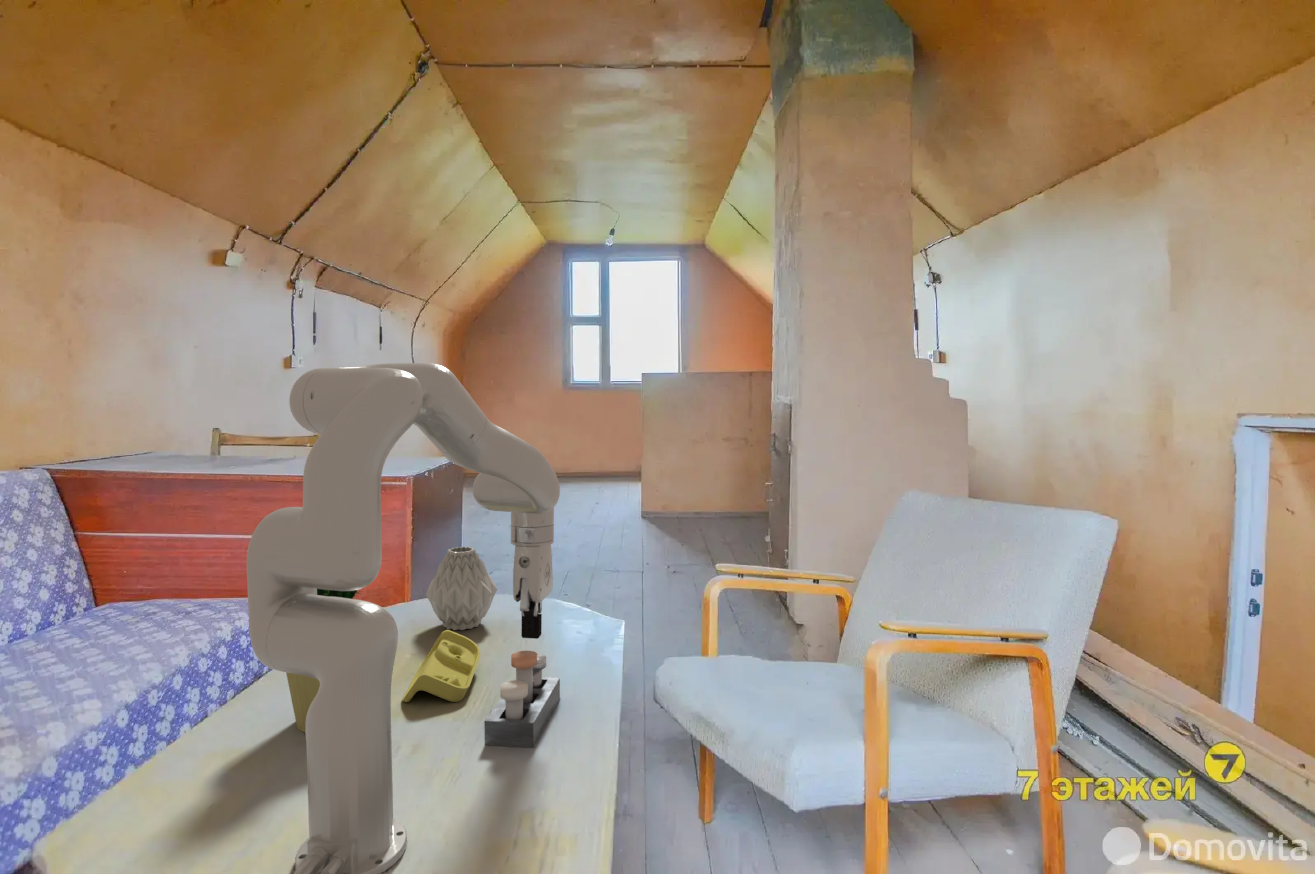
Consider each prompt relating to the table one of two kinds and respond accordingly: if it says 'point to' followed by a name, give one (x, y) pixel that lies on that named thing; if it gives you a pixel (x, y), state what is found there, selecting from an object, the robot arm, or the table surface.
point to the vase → (461, 589)
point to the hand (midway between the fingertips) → (531, 636)
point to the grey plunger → (538, 671)
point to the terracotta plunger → (525, 670)
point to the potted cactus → (305, 686)
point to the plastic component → (447, 668)
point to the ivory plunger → (514, 698)
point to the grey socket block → (533, 721)
